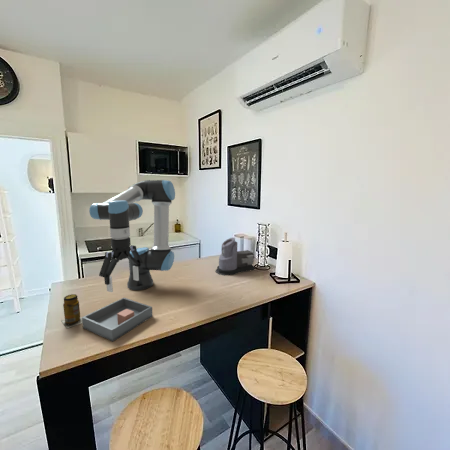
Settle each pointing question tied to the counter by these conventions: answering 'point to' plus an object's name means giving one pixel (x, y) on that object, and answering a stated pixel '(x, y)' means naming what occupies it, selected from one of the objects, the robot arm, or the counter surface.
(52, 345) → the counter surface
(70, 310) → the condiment
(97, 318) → the tote
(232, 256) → the juicer
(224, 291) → the counter surface
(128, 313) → the cube
